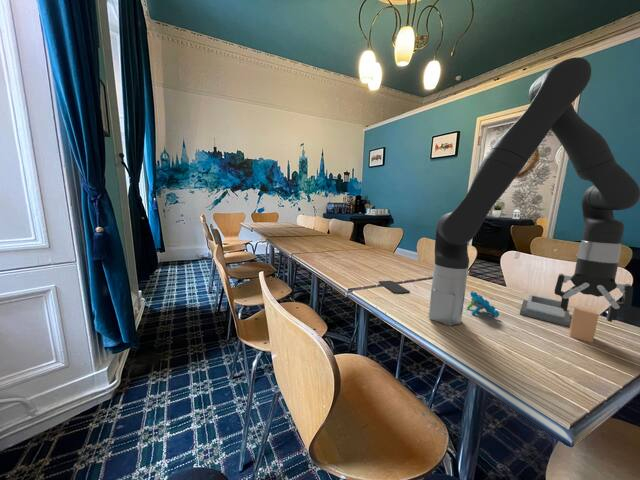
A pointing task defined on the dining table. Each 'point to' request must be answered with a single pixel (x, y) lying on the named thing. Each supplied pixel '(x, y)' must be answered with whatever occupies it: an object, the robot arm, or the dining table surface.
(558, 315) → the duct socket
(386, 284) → the phone
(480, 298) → the blue toy figure
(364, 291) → the dining table surface
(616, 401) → the dining table surface
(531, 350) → the dining table surface
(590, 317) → the tan rectangular block
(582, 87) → the robot arm
